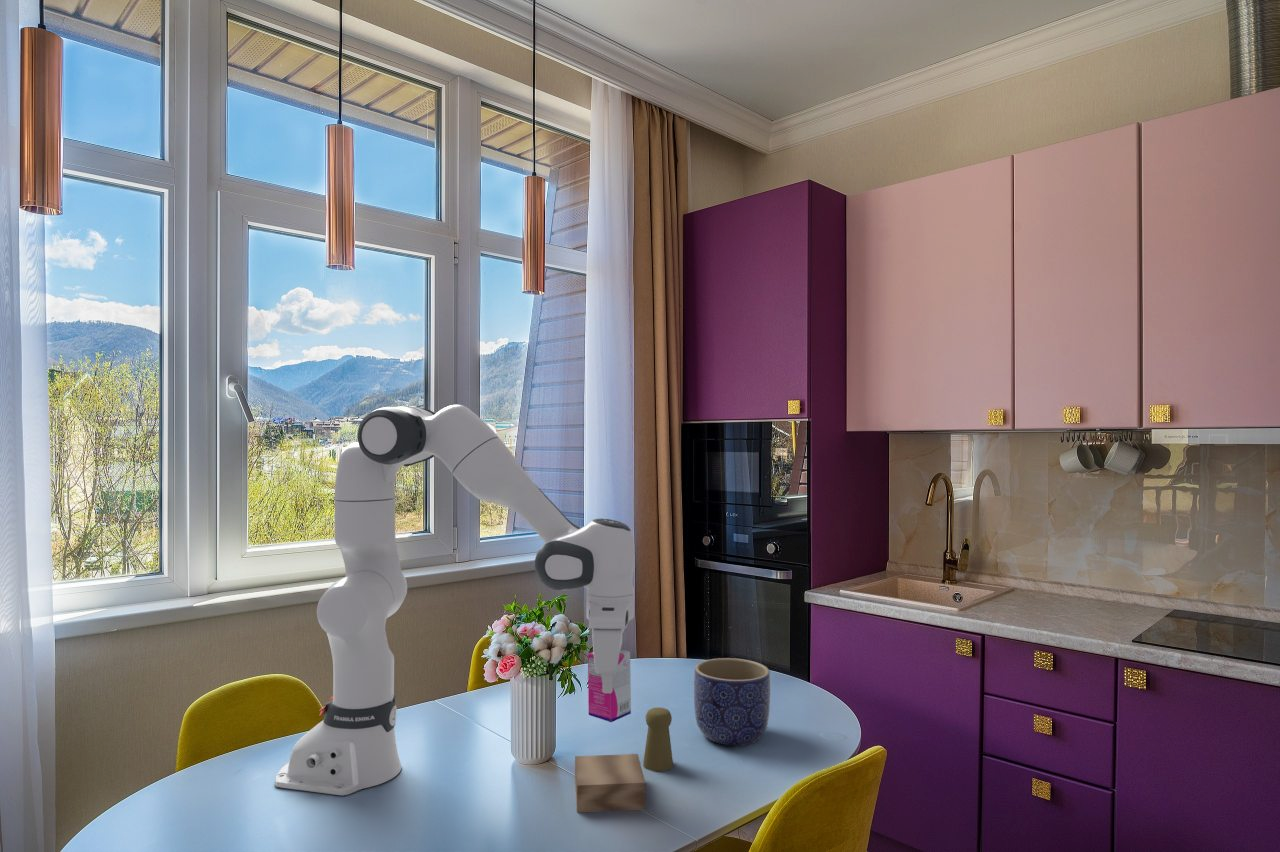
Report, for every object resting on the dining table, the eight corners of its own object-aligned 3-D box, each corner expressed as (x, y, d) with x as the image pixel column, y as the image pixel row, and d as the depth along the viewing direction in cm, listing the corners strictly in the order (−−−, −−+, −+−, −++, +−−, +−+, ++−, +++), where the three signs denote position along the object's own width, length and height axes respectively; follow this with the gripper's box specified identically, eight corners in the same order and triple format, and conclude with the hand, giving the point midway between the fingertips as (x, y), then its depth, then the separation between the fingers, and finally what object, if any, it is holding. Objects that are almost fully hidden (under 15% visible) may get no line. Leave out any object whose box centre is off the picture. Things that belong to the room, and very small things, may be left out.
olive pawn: (647, 772, 148) (648, 716, 148) (639, 759, 154) (640, 705, 154) (677, 769, 150) (677, 713, 150) (667, 756, 155) (668, 703, 156)
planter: (687, 747, 160) (688, 677, 160) (700, 719, 176) (700, 655, 176) (766, 756, 156) (767, 684, 156) (772, 726, 172) (772, 660, 172)
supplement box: (607, 706, 143) (608, 645, 143) (631, 714, 139) (632, 651, 140) (586, 715, 139) (587, 652, 139) (610, 723, 135) (611, 658, 135)
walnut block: (576, 814, 132) (577, 785, 132) (574, 782, 144) (575, 756, 144) (645, 811, 134) (645, 782, 134) (637, 780, 146) (637, 753, 146)
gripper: (597, 595, 150) (597, 666, 150) (587, 621, 129) (586, 702, 129) (629, 596, 150) (629, 666, 149) (624, 621, 129) (623, 703, 129)
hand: (609, 683), depth 139 cm, fingers closed on supplement box, 8 cm apart
